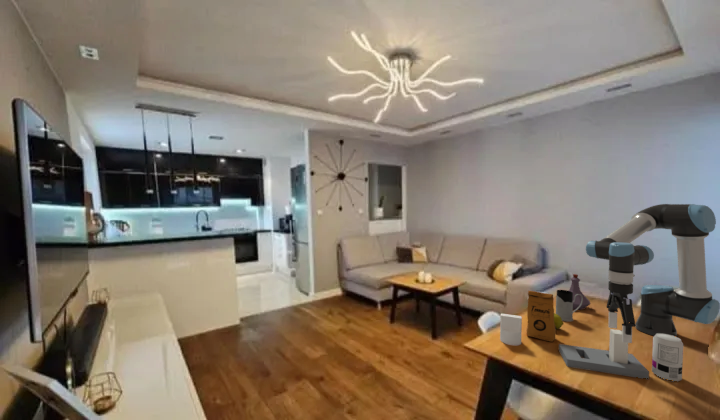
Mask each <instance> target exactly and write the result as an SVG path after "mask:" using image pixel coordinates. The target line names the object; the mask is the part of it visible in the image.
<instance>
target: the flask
mask: <svg viewBox="0 0 720 420" xmlns="http://www.w3.org/2000/svg"><path fill="white" fill-rule="evenodd" d="M572 276H573V277H571V278H570V281H571V285H570V287H569V289H568V290H567V291H571V292H573V301H574V297H575V295H576V294H580V295H577V296H576V298H575V301H574V302H573V310H576V309H577V308H578V307H579V306H580V304H581V301H582V297H581V295H582V296H583V302H582V305H581V307H580V308H579V309H578V310H577V311H581V310H584V309H586V308H587V307H588V306H590V305H591V301H590V300H589V299H588V298H587V297H586V296H585V295H584V293H583V292H582V291H581V287H580V281H581V279H580V278H579V277H578V276H579V275H578V274H577V273H574V274H573V273H572Z"/></svg>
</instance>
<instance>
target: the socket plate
mask: <svg viewBox="0 0 720 420" xmlns="http://www.w3.org/2000/svg"><path fill="white" fill-rule="evenodd" d="M558 352H559V354H560V357H562V359H563V362H564V364H565V365H566V366H567V367H568V368H574V369H580V370H587V371H593V372H599V373H606V374H612V375H618V376H624V377H625V376H626V377H631V378H636V377H638V379H643V378H646V379H645V380H649V379H650V375H649V374H650V372H649V369H647V367H645V366H644V365H643V364H642V363H641V362H640V360H638V359H637V357H635V356H634V354H633V353H629V352H628V364H624V363H617V362H611V360H610V359H609V350H605V349H601V348H593V347H592V348H591V347H584V346H578V345H572V344H571V345H570V344H563V343H558ZM647 378H648V379H647Z"/></svg>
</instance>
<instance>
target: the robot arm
mask: <svg viewBox="0 0 720 420" xmlns="http://www.w3.org/2000/svg"><path fill="white" fill-rule="evenodd" d="M716 224H717V219H716V215H715V213H714V211H713V210H712V208H711V207H709V205H708V206H707V205H703V204H695V203H692V204H691V203H685V204H684V203H681V204H679V203H661V204H656V205H652V206H649V207H647V208H643V209H642V210H640V211H638V212H636V213H635V214H633V215H632V216H631V219H630V220H629V221H627V222H625V223H624V224H623V225H621V226H620V227H618V228H617V229H616V230H614V231H612V232H611V233H609V234H608V235H606V236H604V237H603V238H601V240H589V241H588V242H587V243H586V245H585V252H586V255H587V256H589V257H592V258H595V259H599V260H600V259H601V260H607V261H608V276H607V277H608V280H609V281H608V286H607V287H608V291H609V295H608V299H607V302H606V309H607V310H608V323H607V324H608V325H607V326H608V328H609V329H618V312H619V311H618V309H619V310H620V314H621V318H622V323H621V326H622V327H621V328H622V329H621V330H622V342H627V343H628V344H632V343H633V327H634V328H635V329H636V330H637V331H640V332H641V333H644V334H646V335H650V336H653V337H654V336H655V335H656V334H657V333H663V334H669V335H672V336H676V337H677V336H678V331H677V328H676V325H675V323H674V320H673V317H677V318H681V319H685V320H688V321H691V322H694V323H699V324H703V325H709V324H712V323H713V322H714V321H715V320H716V319H717V317H718V315H719V312H720V302H719V300H717V299H715V298H713V293H712V292H711V291H709V290H707V289H708V287H707V271H706V269H707V268H706V253H705V252H706V251H705V249H706V248H705V239H706V238H707V237H709V236H710V233H712V232H713V231H714V230H715V229H716ZM657 229H660V230H661V229H663V230H664V229H665V230H671V236H673V237H675V238H676V250H677V251H676V253H677V268H678V284H679V287H678V288H676V289H675V288H674V287H673V286H670V285H663V284H662V285H661V284H646V285H643V286H642V287H641V292H640V314H639V316H638V317H637V320H636V319H635V315H634V310H633V300H632V298H629V297H628V295H631V294H634V293H633V292H634V284H633V283H634V277H635V273H634V266H639V265H640V266H641V265H646V264H649V263H651V262H652V261H653V259H654V257H655V254H654V250H653V249H652V248H650V247H649V246H647V245H643V244H642V245H641V244H640V245H639V244H637V245H634V244H633V243H632V242H634V240H636V239H638V238H639V237H640V236H642V235H643V234H645V233H647V232H651V231H653V230H657ZM635 320H636V321H635Z"/></svg>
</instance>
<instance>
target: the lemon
mask: <svg viewBox="0 0 720 420" xmlns="http://www.w3.org/2000/svg"><path fill="white" fill-rule="evenodd" d="M554 323H555V326H556V330H558V329H561V328H562V326H563V325H564V321H562V319H561V317H560V316H559V315H557V314H556V312H554Z"/></svg>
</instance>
